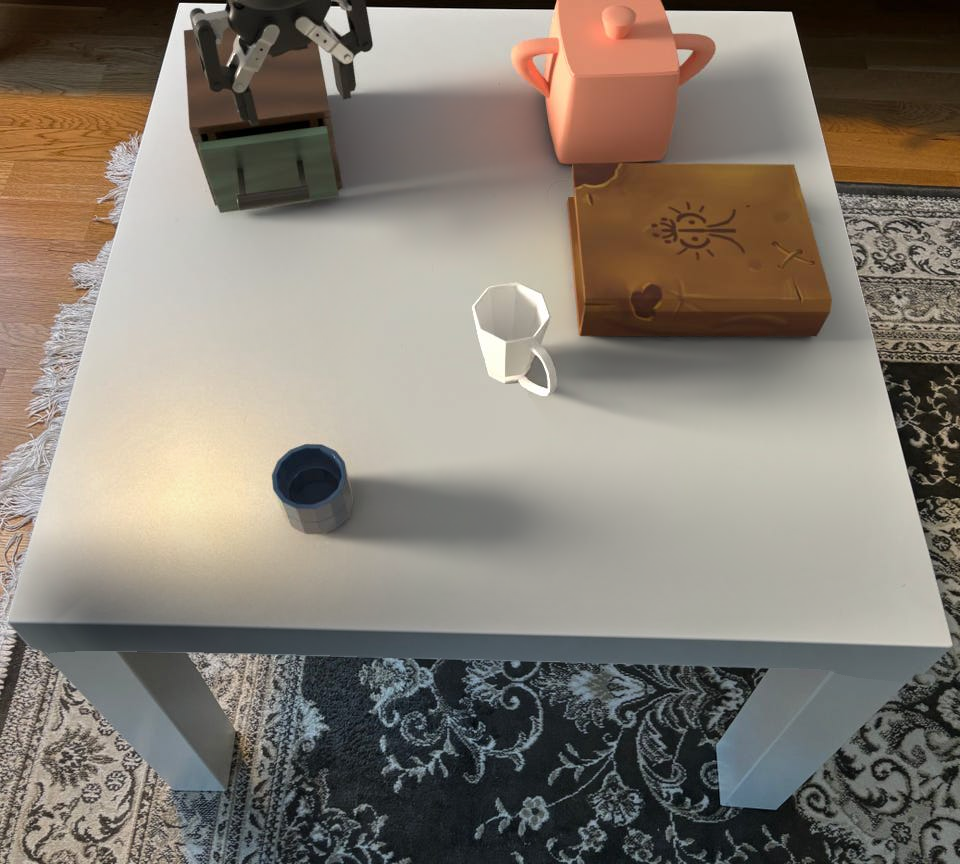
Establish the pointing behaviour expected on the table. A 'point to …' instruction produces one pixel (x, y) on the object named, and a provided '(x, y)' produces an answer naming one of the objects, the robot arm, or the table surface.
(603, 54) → the pink lidded sugar bowl
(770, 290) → the diary
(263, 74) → the cabinet
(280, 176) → the drawer
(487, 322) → the cup
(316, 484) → the blue faceted tumbler
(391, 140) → the table surface
